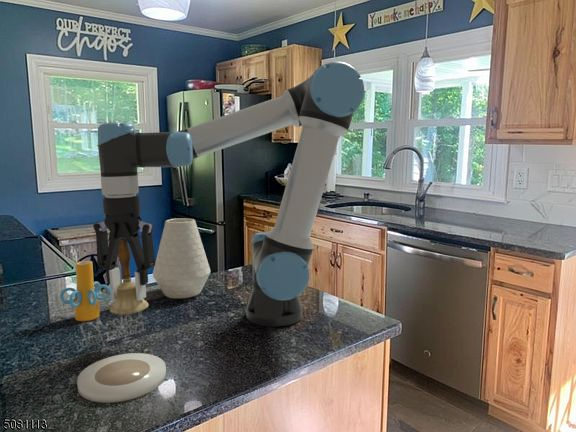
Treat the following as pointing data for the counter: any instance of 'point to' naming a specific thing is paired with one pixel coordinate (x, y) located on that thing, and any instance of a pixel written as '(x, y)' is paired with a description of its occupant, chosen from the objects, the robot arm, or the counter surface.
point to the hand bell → (126, 286)
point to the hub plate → (121, 377)
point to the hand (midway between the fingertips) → (128, 297)
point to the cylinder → (85, 293)
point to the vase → (181, 260)
